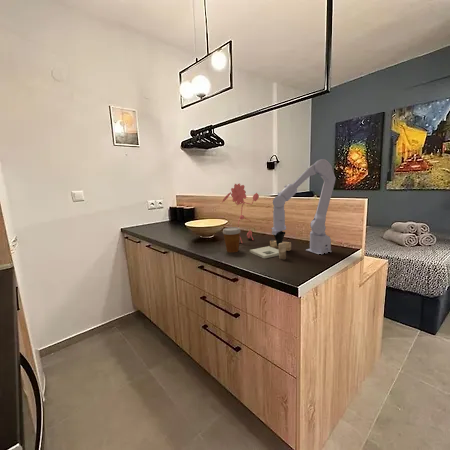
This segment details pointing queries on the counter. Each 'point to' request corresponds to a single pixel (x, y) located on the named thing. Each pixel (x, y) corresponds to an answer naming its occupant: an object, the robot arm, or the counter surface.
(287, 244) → the hinged leg
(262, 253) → the stool seat
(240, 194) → the figurine
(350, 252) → the counter surface
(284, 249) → the loose leg
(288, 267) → the counter surface
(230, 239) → the disposable coffee cup
